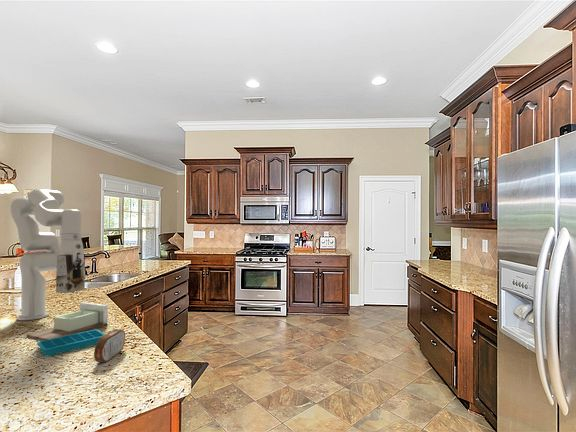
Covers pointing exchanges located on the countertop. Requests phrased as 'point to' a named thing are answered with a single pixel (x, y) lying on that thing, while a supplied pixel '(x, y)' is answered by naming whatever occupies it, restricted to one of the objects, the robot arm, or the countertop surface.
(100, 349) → the tin
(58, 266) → the coffee box
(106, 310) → the stop wall
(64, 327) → the pale green open box
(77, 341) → the ice cube tray
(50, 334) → the brown flat board
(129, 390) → the countertop surface
